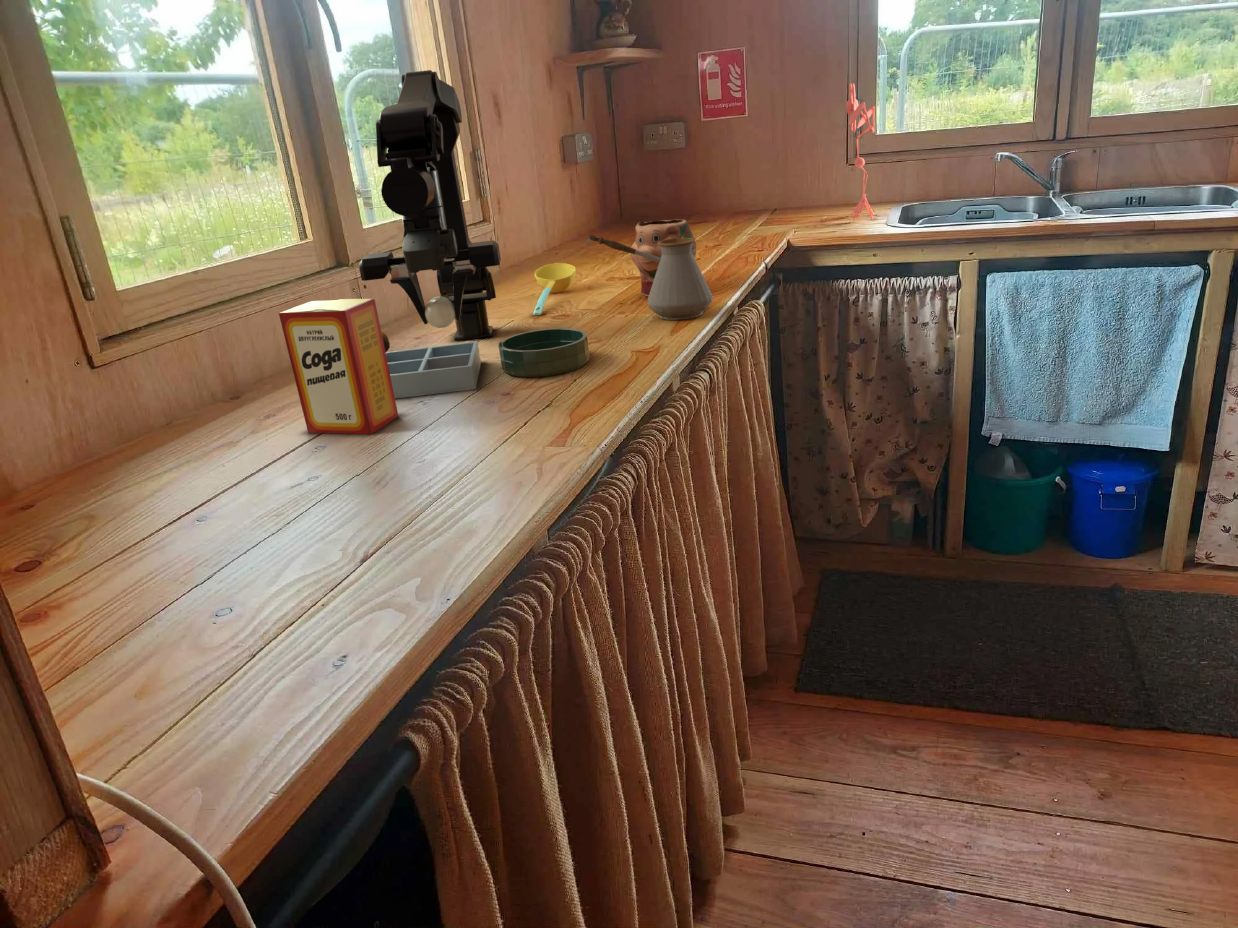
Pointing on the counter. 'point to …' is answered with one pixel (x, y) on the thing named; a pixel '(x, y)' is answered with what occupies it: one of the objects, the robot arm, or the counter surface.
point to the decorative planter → (656, 246)
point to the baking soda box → (340, 365)
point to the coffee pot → (673, 279)
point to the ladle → (553, 281)
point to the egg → (440, 312)
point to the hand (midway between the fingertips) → (442, 321)
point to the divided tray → (434, 369)
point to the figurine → (854, 112)
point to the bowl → (544, 352)
